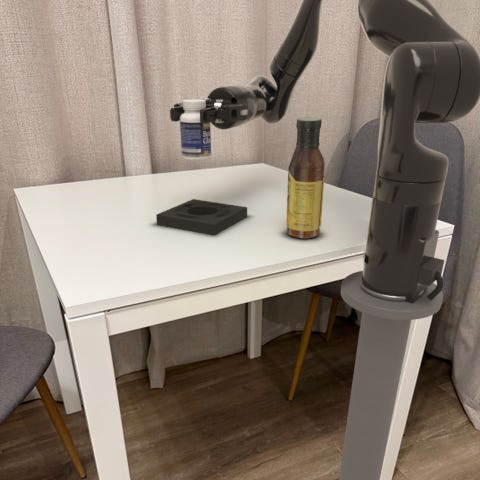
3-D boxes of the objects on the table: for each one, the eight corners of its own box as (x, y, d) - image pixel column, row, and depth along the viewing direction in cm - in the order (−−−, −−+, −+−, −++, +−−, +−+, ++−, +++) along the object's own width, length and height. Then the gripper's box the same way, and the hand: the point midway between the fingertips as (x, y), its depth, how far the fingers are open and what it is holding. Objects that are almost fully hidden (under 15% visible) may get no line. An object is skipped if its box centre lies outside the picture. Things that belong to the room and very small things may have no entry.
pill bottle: (209, 161, 86) (207, 101, 81) (179, 161, 86) (175, 101, 82) (213, 155, 91) (211, 98, 86) (185, 155, 91) (181, 98, 86)
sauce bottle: (296, 226, 92) (303, 114, 82) (326, 233, 89) (336, 117, 79) (278, 236, 87) (283, 118, 78) (309, 243, 84) (318, 121, 74)
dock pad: (247, 216, 98) (247, 207, 97) (214, 235, 88) (214, 224, 87) (193, 208, 103) (193, 198, 102) (156, 224, 93) (155, 214, 92)
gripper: (200, 85, 97) (150, 90, 84) (265, 86, 91) (222, 93, 78) (202, 124, 101) (154, 136, 88) (264, 128, 95) (223, 141, 82)
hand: (187, 115), depth 83 cm, fingers closed on pill bottle, 5 cm apart
